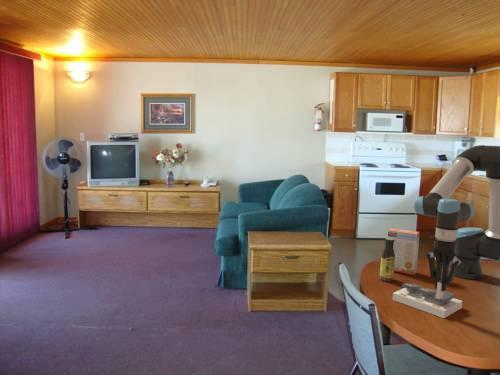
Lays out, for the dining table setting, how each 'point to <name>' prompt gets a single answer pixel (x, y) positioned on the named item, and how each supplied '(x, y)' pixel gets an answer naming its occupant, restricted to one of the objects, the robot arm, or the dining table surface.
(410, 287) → the switch
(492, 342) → the dining table surface
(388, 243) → the sauce bottle
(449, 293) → the switch
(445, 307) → the switch panel
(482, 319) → the dining table surface
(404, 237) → the cracker box
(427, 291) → the switch middle
